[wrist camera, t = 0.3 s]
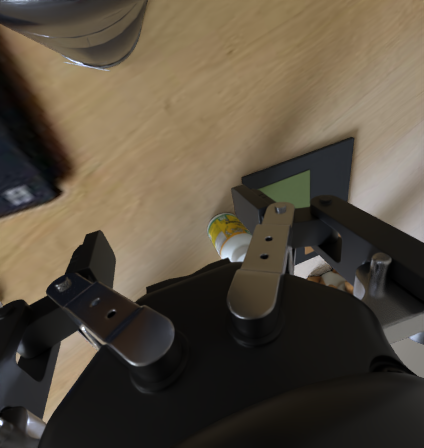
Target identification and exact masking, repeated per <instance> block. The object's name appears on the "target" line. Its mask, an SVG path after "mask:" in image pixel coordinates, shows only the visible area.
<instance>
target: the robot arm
mask: <svg viewBox="0 0 424 448" xmlns="http://www.w3.org/2000/svg"><path fill="white" fill-rule="evenodd" d="M147 2H148V0H0V24H2V25H4V26H6V27H8V28H10V29H12V30H14V31H16V32H18V33H20V34H22V35H24V36H26V37H28V38H30V39H32V40H34V41H36V42H38V43H40V44H42V45H44V46H46V47H48V48H50V49H52V50H54V51H56V52H58V53H59V54H61V55H62V56H64V57H65V58H67V59H69V60H71V61H73V62H75V63H77V64H74V65H78V64H79V65H80V66H85V67H89V68H95V69H101V70H105V69H104V68H110V67H113V66H116V65H118V64H120V63H121V62H123V61H124V60H125V59H127V58H128V57H129V55H130V54H131V53H132V52H133V50H134V48H135V47H136V44H137V42H138V39H139V36H140V31H141V25H142V21H143V17H144V13H145V10H146V6H147ZM65 63H67V62H65ZM69 64H73V63H69ZM107 71H110V70H107ZM231 191H232V197H233V203H234V208H235V213H236V215H237V218H238V219H239V220H240V222H241V223H242V224H243V225H244V226H245V227H246V228H247V229H248V231H249V232H250V233H251V234H252V235H253V236H252V238H251V241H250V244H249V247H248V250H247V252H246V255H245V258H244V261H239V262H231V261H230V259H229V258H228V257H227V258H225V259H222V260H219V261H216V262H214V263H211V264H208V265H207V266H205V267H203V268H202V269H200V270H198V271H196V272H195V273H193V274H191V275H189V276H184V277H179V278H173V279H168V280H165V281H162V282H159V283H157V284H154V285H151V286H148V287H146V290H147V294H146V295H144V296H142V297H141V298H140V299H138V300H137V301H136V302H133V301H131V300H130V299H128V298H126V297H125V296H123V295H121V294H120V293H118V292H116V291H115V290H113V281H114V272H115V264H116V259H115V255H114V252H113V250H112V248H111V247H110V245H109V243H108V241H107V239H106V237H105V236H104V234H103V232H102V231H101V230H99V231H95V232H92V233H89V234H86V236H85V239H84V242H83V244H82V245H80V246H79V247H78V248H77V249H76V250H75V251H74V253H73V255H72V259H71V260H70V263H69V265H68V267H67V270H66V272H65V275H63V276H61V277H59V278H58V279H56V280H55V281H53V282H52V283H51V284H50V285H49V287H48V288H47V290H46V294H47V296H46V297H44V298H42V299H40V300H38V301H37V302H35V303H33V304H31V305H28V304H27V303H26V302H25V301H24V300H15V301H12V302H10V303H8V304H6V305H4V306H3V307H1V308H0V448H424V378H422V377H419V376H417V375H416V374H414V373H413V372H412V371H411V370H409V369H408V368H407V367H406V366H405V365H404V364H403V362H402V361H401V360H400V359H399V357H398V356H397V354H396V353H395V352H394V350H393V349H392V347H391V345H390V344H392V343H395V342H397V341H400V340H403V339H405V338H410V339H411V340H413V341H415V342H418V343H420V344H424V243H423V242H421V241H419V240H417V239H416V238H414V237H412V236H410V235H408V234H406V233H404V232H402V231H400V230H399V229H397V228H395V227H393V226H391V225H389V224H387V223H385V222H384V221H382V220H380V219H378V218H376V217H374V216H372V215H370V214H369V213H367V212H365V211H363V210H361V209H359V208H357V207H355V206H353V205H352V204H350V203H348V202H346V201H344V200H342V199H340V198H338V197H336V196H333V195H319V196H316V197H314V198H312V199H311V201H310V207H303V208H295V207H294V205H293V204H291V203H289V202H276V201H274V200H273V199H271V198H270V197H268V196H267V195H266V194H264V193H263V192H262V191H260V190H256V189H251V190H250V189H249V188H248V187H246V186H245V185H244V184H242V185H239V186H236V187H233V188H232V189H231ZM338 234H340V236H341V238H340V237H339V236H338ZM310 246H311V248H312V249H313V250H314V251H315V252H316V253H317V254H319V255H320V256H321V257H322V258H323V259H324V260H325V261H326V262H327V263H328V264H329V265H330V266H331V267H332V268H334V269H335V270H336V271H337V272H338V273H339V274H340V275H341V276H342V277H343V278H344V279H345V280H346V281H347V282H349V283H350V284H351V285H352V286H353V287H354V289H353V294H354V295H352V294H350V293H348V292H345V291H343V290H340V289H337V288H333V287H330V286H327V285H324V284H320V283H317V282H314V281H310V280H307V279H304V278H301V277H297V276H294V266H295V257H296V248H302V247H310ZM76 331H78V333H79V334H80V335H81V336H82V337H84V338H85V339H86V340H87V341H88V342H89V343H90V344H91V345H92V346H93V347H94V348H95V349H96V350H97V351H98V352H97V353H96V354H95V356H94V357H93V359H92V360H91V361H90V363H89V364H88V365H87V367H86V368H85V370H84V371H83V372H82V374H81V375H80V377H79V378H78V379H77V381H76V382H75V383H74V385H73V386H72V388H71V389H70V390H69V392H68V393H67V395H66V396H65V397H64V399H63V400H62V401H61V403H60V404H59V406H58V407H57V408H56V410H55V411H54V413H53V414H52V416H51V417H50V419H49V421H48V423H47V424H46V423H45V422H44V421H43V420H42V419H43V415H44V410H45V406H46V402H47V398H48V394H49V390H50V386H51V381H52V377H53V373H54V369H55V365H56V361H57V357H58V352H59V348H60V344H61V341H62V340H63V339H65V338H67V337H68V336H70V335H71V334H73V333H74V332H76ZM16 352H18V353H19V354H20V355H21V356H20V359H19V361H18V364H17V363H16Z"/></svg>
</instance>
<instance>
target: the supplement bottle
mask: <svg viewBox="0 0 424 448" xmlns="http://www.w3.org/2000/svg"><path fill="white" fill-rule="evenodd" d="M207 232H208V236H209V238H210V240H211V241H212V243H213V245H214V247H215V248H216V250H217V252H218V253H219V255H220V257H221V259H225V258H227V257H228V258H229V259H230V261H231V262H239V261H244V258H245V255H246V252H247V250H248V247H249V244H250V241H251V238H252V236H253V235H252V234H251V233H250V232H249V231H248V230H247V229H246V227H245V226H244V225H243V224H242V223H241V222H240V220H239V219H238V218H237V217H236V216H235V215H233V214H231V213H222V214H219V215H217V216H215V217H214V218H213V219H212V220H211V221H210V223H209V225H208V228H207Z"/></svg>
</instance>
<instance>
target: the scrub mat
mask: <svg viewBox="0 0 424 448" xmlns="http://www.w3.org/2000/svg"><path fill="white" fill-rule="evenodd" d="M353 145H354V138H353V137H351V138H348V139H345V140H342V141H340V142H337V143H334V144H331V145H329V146H326V147H323V148H321V149H318V150H315V151H312V152H310V153H307V154H304V155H301V156H299V157H296V158H293V159H291V160H288V161H285V162H282V163H280V164H277V165H274V166H271V167H269V168H266V169H263V170H261V171H258V172H255V173H252V174H250V175H247V176H244V177H242V183H243V184H244V185H245V186H246V187H248V188H249V189H250V190H251V189H256V190H260V191H262V192H263V193H264V194H266V195H267V196H268V197H270V198H271V199H273V200H274V201H276V202H289V203H291V204H293V205H294V207H295V208H303V207H310V201H311V199H312V198H314V197H316V196H319V195H333V196H336V197H338V198H340V199H342V200H344V201H346V202H347V201H348V192H349V182H350V173H351V164H352V154H353ZM338 236H339V237H340V238H341V236H340V234H338ZM318 255H319V254H317V253H316V252H315V251H314V250H313V249H312V248H311V246H310V247H302V248H296V257H295V265H297V264H299V263H302V262H304V261H306V260H309V259H311V258H313V257H315V256H318Z"/></svg>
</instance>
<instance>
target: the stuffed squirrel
mask: <svg viewBox="0 0 424 448" xmlns="http://www.w3.org/2000/svg"><path fill="white" fill-rule="evenodd" d="M307 280H310V281H314V282H317V283H320V284H324V285H327V286H330V287H333V288H337V289H340V290H343V291H345V292H348V293H350V294H352V295H354V294H353V289H354V287H353V286H352V285H351V284H350V283H349V282H347V281H346V280H345V279H344V278H343V277H342V276H341V275H340V274H339V273H338V272H337V271H336V270H335V269H333V270H332V271H329V272H327V273H325V274H323V275H322V276H321V277H320V276H314V277H308V278H307Z"/></svg>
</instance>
